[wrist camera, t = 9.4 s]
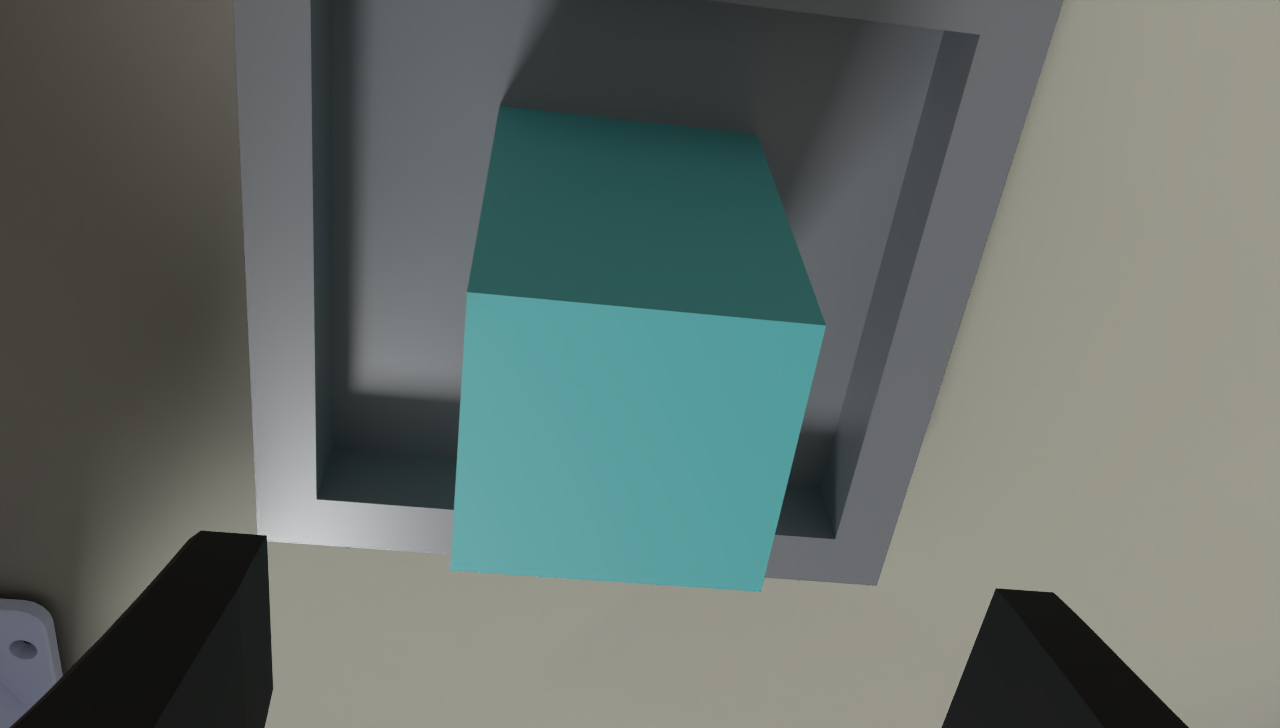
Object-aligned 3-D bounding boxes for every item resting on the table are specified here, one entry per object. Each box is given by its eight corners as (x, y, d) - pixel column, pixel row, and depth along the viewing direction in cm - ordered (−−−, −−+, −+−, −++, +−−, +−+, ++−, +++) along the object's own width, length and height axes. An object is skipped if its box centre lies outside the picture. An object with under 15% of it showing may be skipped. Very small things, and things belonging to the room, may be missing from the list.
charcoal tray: (854, 515, 23) (876, 585, 21) (283, 470, 22) (257, 540, 20) (1024, -63, 17) (1072, -31, 16) (263, -167, 16) (226, -145, 14)
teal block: (715, 352, 20) (760, 592, 15) (483, 332, 20) (449, 570, 15) (756, 134, 18) (825, 325, 13) (499, 105, 18) (466, 292, 13)
